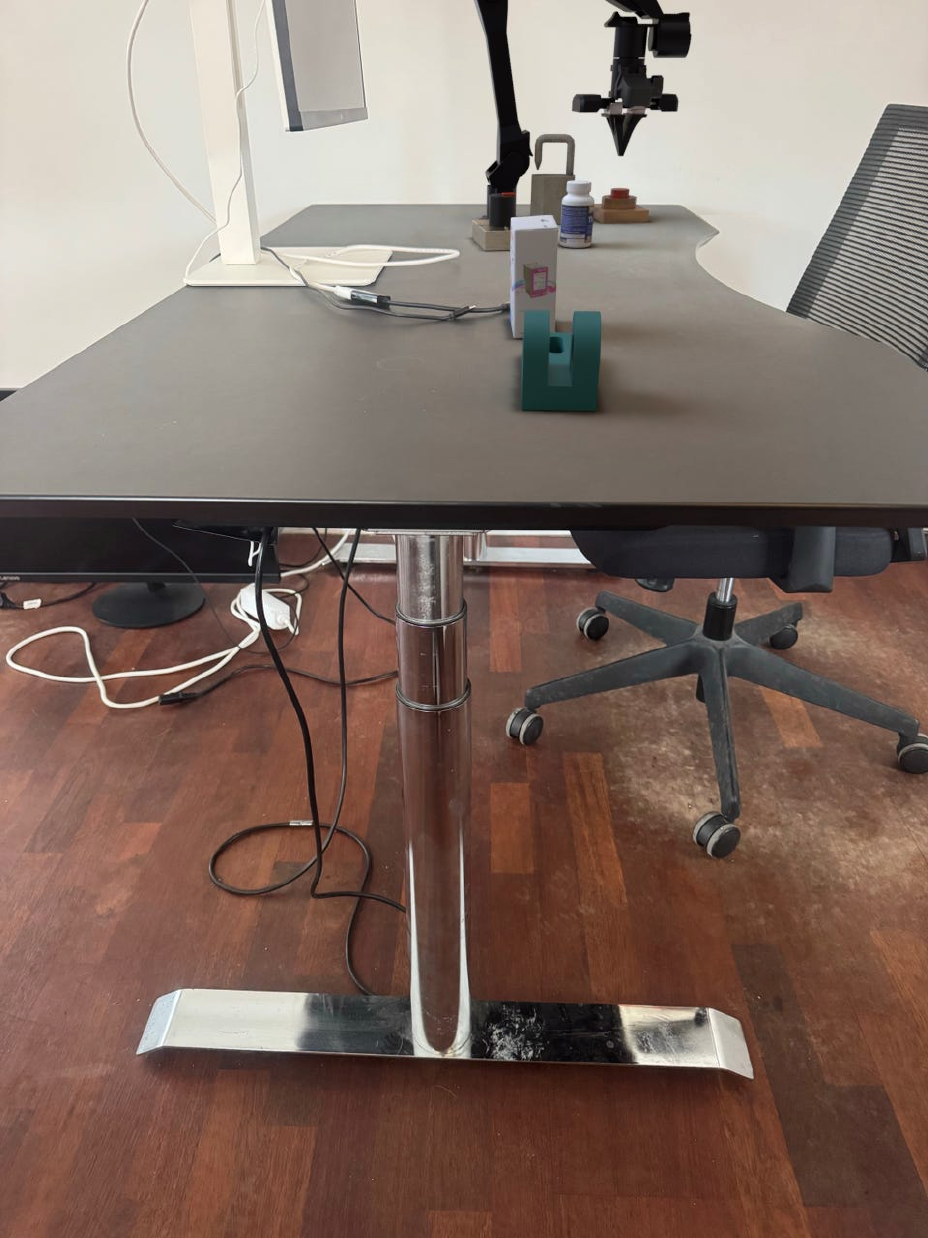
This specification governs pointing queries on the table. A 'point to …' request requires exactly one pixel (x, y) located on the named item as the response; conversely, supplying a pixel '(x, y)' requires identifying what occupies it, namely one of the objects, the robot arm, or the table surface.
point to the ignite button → (619, 193)
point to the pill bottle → (577, 215)
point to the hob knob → (501, 209)
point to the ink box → (532, 268)
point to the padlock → (551, 179)
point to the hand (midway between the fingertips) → (620, 155)
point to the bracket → (560, 362)
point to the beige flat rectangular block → (491, 235)
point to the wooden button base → (620, 210)
